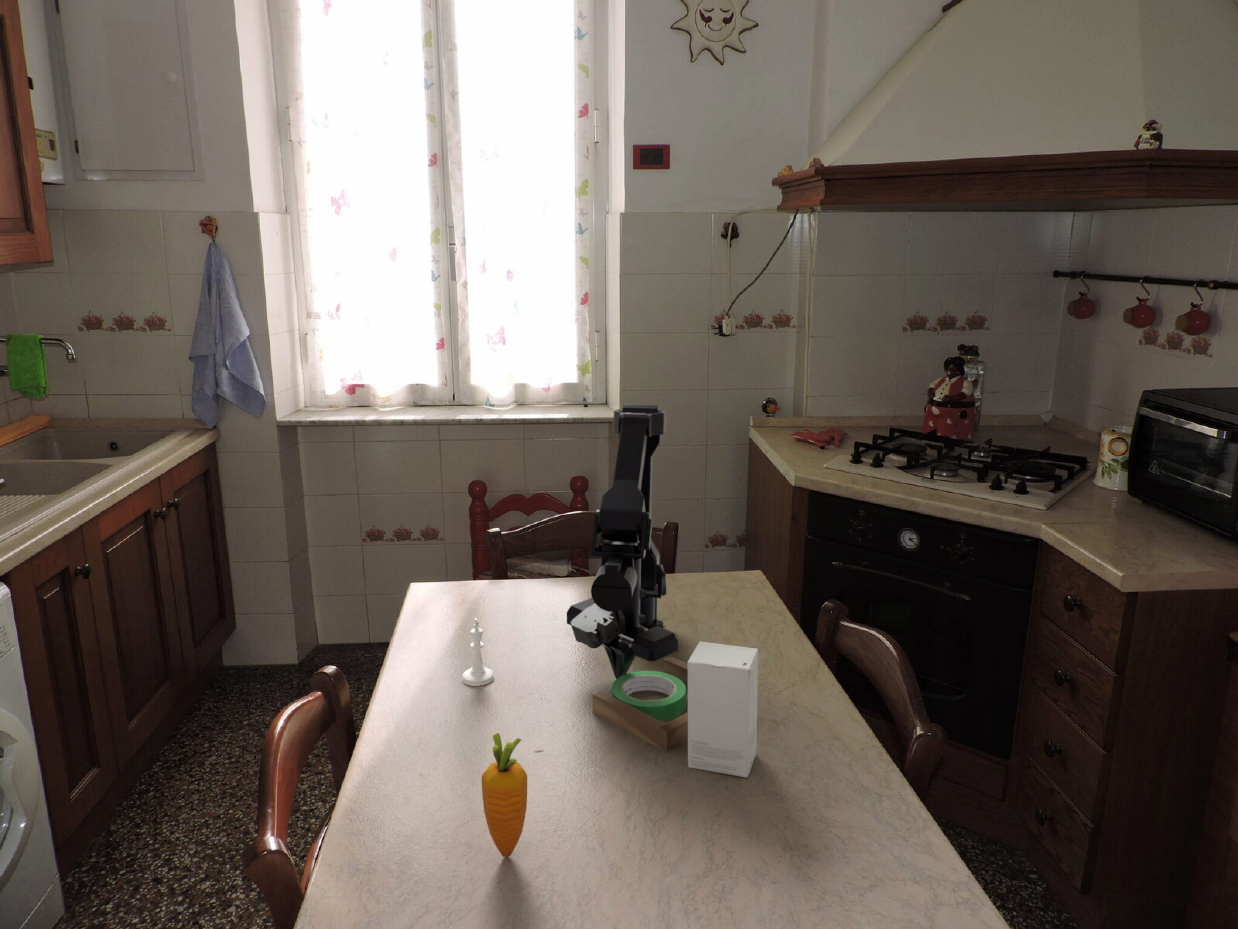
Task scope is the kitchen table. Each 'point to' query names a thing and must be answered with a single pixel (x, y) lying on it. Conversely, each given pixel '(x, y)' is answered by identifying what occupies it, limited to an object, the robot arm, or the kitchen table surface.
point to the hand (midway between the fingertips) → (619, 679)
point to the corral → (642, 722)
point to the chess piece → (477, 661)
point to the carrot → (505, 797)
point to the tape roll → (653, 682)
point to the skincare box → (722, 708)
